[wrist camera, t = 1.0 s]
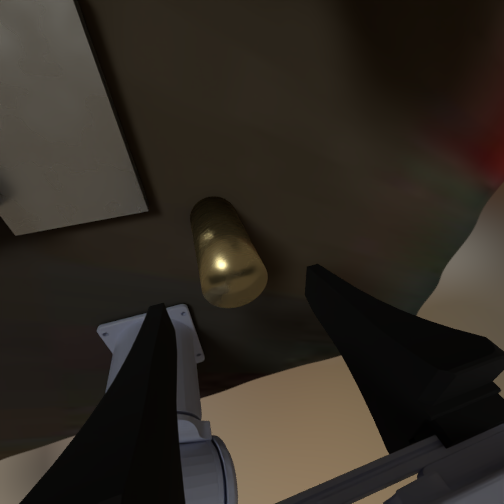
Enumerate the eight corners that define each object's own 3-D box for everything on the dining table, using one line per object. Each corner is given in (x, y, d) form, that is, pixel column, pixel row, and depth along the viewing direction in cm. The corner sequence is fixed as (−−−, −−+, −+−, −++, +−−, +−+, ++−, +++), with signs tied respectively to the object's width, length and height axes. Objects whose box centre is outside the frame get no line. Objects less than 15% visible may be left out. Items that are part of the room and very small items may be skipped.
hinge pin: (237, 232, 21) (268, 298, 15) (195, 241, 20) (208, 314, 14) (232, 192, 19) (266, 249, 12) (185, 201, 18) (195, 265, 12)
